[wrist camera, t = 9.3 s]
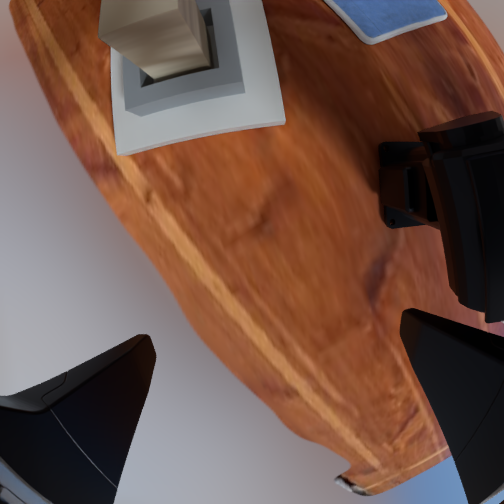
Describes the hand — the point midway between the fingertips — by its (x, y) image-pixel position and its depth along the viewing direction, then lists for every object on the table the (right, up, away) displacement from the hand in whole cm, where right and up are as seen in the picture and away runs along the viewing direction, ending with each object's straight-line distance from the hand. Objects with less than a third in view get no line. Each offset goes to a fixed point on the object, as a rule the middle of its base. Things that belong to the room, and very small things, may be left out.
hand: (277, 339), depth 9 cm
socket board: (-5, +17, +8) cm, 19 cm away
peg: (-5, +16, +7) cm, 18 cm away
